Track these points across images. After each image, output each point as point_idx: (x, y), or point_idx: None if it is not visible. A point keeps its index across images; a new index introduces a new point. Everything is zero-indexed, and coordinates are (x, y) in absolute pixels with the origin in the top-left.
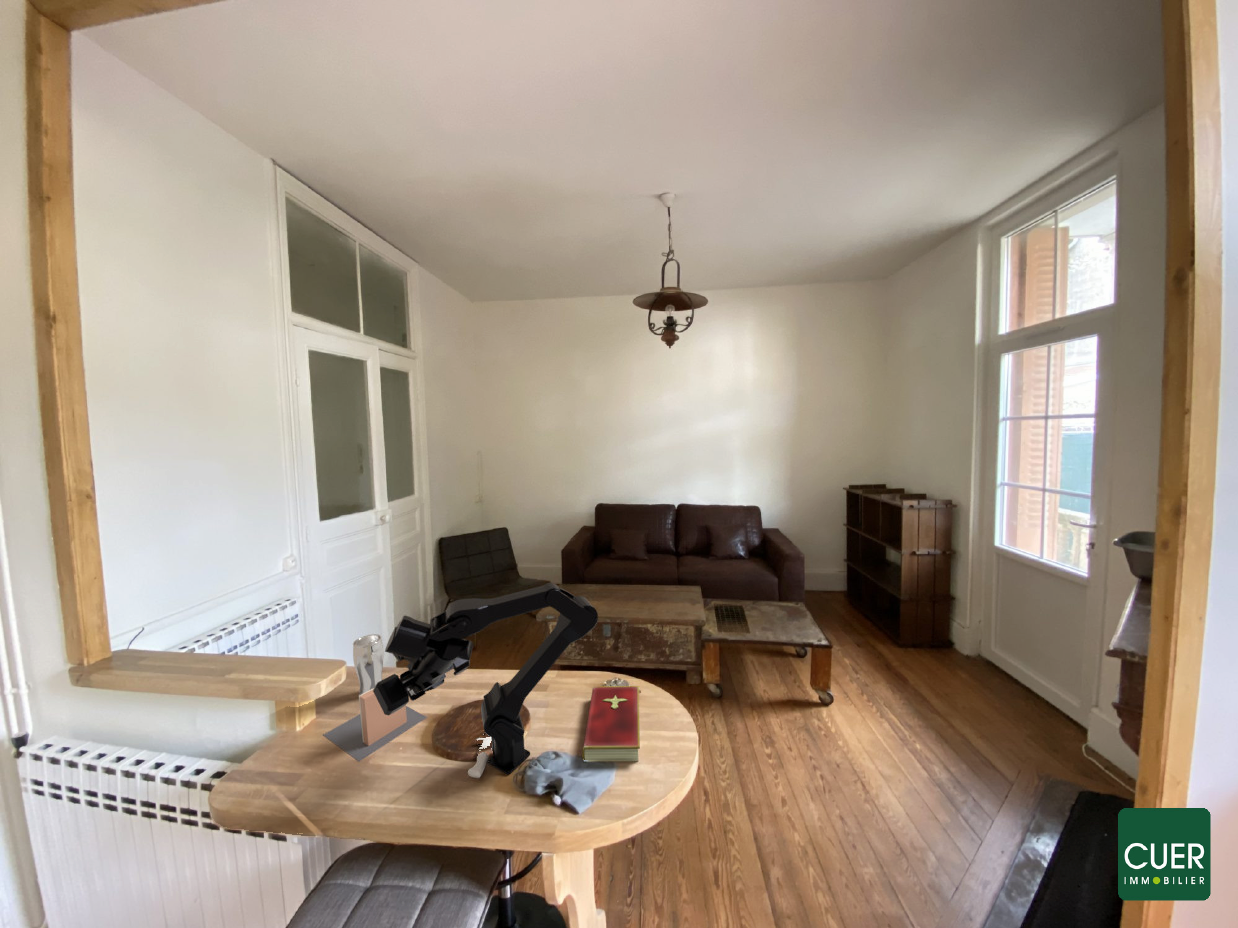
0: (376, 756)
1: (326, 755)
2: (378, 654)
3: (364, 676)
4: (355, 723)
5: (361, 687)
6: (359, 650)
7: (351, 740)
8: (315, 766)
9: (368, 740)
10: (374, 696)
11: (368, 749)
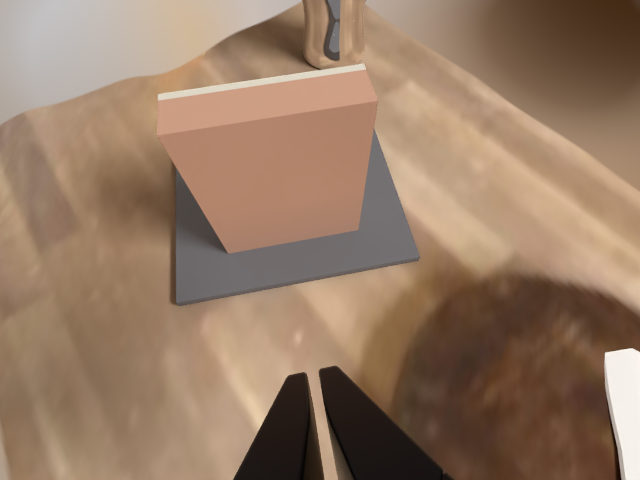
0: (227, 313)
1: (147, 199)
2: None
3: None
4: None
5: (305, 23)
6: None
7: None
8: (109, 221)
9: (224, 245)
10: (215, 138)
11: (220, 269)
